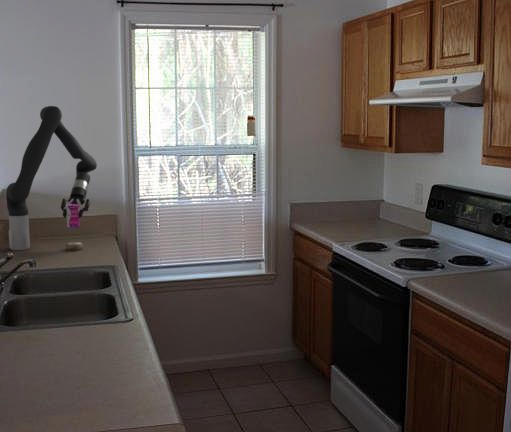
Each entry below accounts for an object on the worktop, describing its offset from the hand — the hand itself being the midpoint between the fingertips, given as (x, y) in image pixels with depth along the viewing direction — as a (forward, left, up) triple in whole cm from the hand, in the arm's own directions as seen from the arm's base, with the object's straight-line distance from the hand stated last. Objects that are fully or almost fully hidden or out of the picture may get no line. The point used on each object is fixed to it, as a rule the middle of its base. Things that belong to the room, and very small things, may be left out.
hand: (71, 216), depth 335 cm
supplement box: (+1, +1, -6) cm, 6 cm away
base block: (+1, +1, -17) cm, 17 cm away
